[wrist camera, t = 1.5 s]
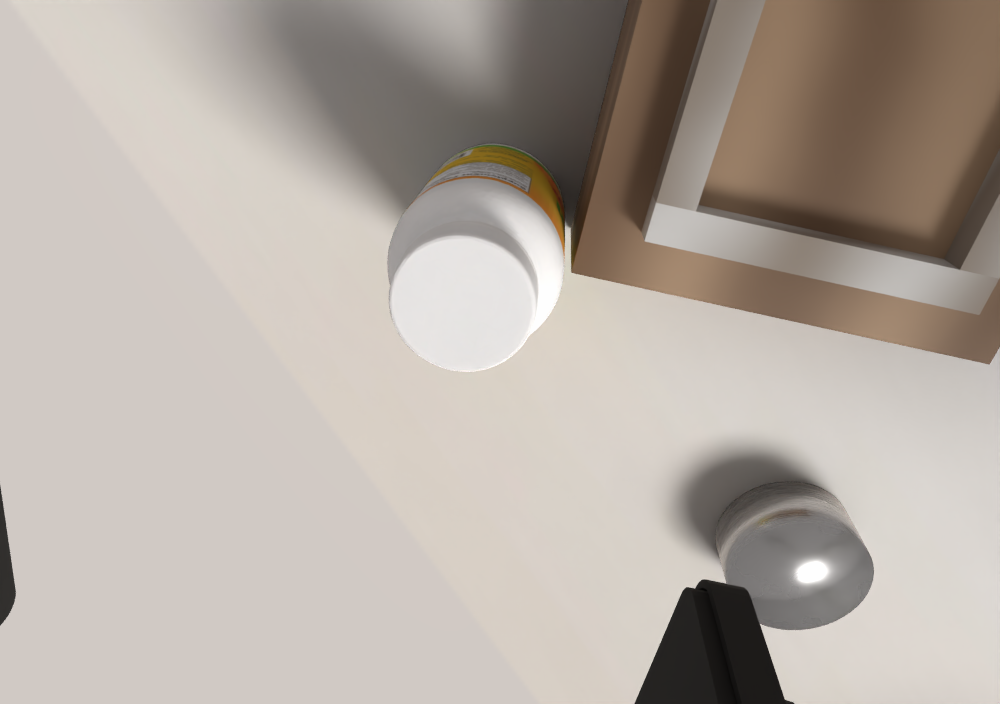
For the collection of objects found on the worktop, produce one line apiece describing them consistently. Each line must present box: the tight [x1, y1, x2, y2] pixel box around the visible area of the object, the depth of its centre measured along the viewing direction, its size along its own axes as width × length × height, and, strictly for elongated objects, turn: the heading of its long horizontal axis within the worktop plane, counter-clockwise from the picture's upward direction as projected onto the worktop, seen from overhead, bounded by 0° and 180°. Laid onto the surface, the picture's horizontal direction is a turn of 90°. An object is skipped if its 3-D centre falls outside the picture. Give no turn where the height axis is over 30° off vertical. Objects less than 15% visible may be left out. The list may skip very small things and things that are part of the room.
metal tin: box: [715, 482, 874, 630], centre depth 32 cm, size 6×6×3 cm
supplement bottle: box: [387, 144, 565, 372], centre depth 23 cm, size 5×5×10 cm
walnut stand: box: [571, 0, 1000, 364], centre depth 22 cm, size 14×14×6 cm
